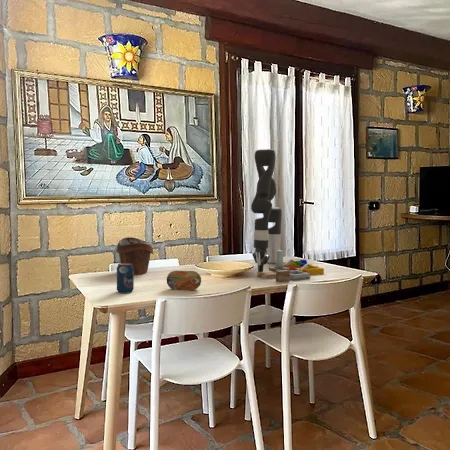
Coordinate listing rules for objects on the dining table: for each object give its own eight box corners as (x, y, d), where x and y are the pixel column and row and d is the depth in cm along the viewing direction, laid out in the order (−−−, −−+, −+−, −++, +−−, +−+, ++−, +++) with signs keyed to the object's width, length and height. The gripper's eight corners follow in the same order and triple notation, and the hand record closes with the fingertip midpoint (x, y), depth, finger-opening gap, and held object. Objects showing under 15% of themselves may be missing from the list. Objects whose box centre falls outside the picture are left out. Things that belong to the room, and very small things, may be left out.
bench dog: (275, 280, 219) (276, 270, 218) (285, 279, 222) (285, 269, 222) (279, 282, 216) (279, 271, 216) (289, 280, 219) (289, 270, 219)
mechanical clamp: (305, 265, 230) (276, 257, 258) (305, 277, 231) (276, 268, 258) (336, 263, 237) (304, 255, 265) (335, 275, 238) (304, 266, 265)
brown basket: (143, 276, 225) (144, 240, 224) (108, 274, 231) (108, 239, 230) (160, 271, 241) (160, 237, 240) (127, 269, 248) (127, 236, 247)
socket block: (268, 272, 241) (268, 267, 240) (280, 271, 245) (280, 266, 244) (277, 275, 234) (278, 269, 234) (290, 273, 238) (290, 268, 238)
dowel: (274, 273, 240) (275, 250, 239) (280, 272, 242) (280, 250, 241) (278, 274, 237) (279, 251, 236) (284, 273, 239) (284, 250, 238)
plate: (256, 277, 231) (257, 272, 231) (269, 275, 235) (269, 270, 235) (266, 279, 224) (266, 274, 224) (279, 278, 228) (279, 273, 228)
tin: (166, 289, 198) (166, 270, 197) (168, 288, 201) (168, 269, 200) (200, 291, 195) (200, 271, 195) (201, 289, 198) (202, 270, 198)
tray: (281, 276, 230) (281, 271, 230) (296, 275, 235) (296, 270, 235) (293, 280, 221) (293, 275, 221) (309, 278, 226) (309, 273, 226)
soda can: (127, 294, 187) (127, 265, 186) (113, 292, 190) (113, 264, 189) (136, 291, 194) (136, 263, 193) (123, 289, 196) (122, 262, 195)
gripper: (247, 237, 237) (247, 270, 238) (262, 240, 226) (261, 274, 227) (259, 237, 241) (259, 269, 242) (274, 239, 229) (274, 273, 231)
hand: (260, 272), depth 234 cm, fingers closed
